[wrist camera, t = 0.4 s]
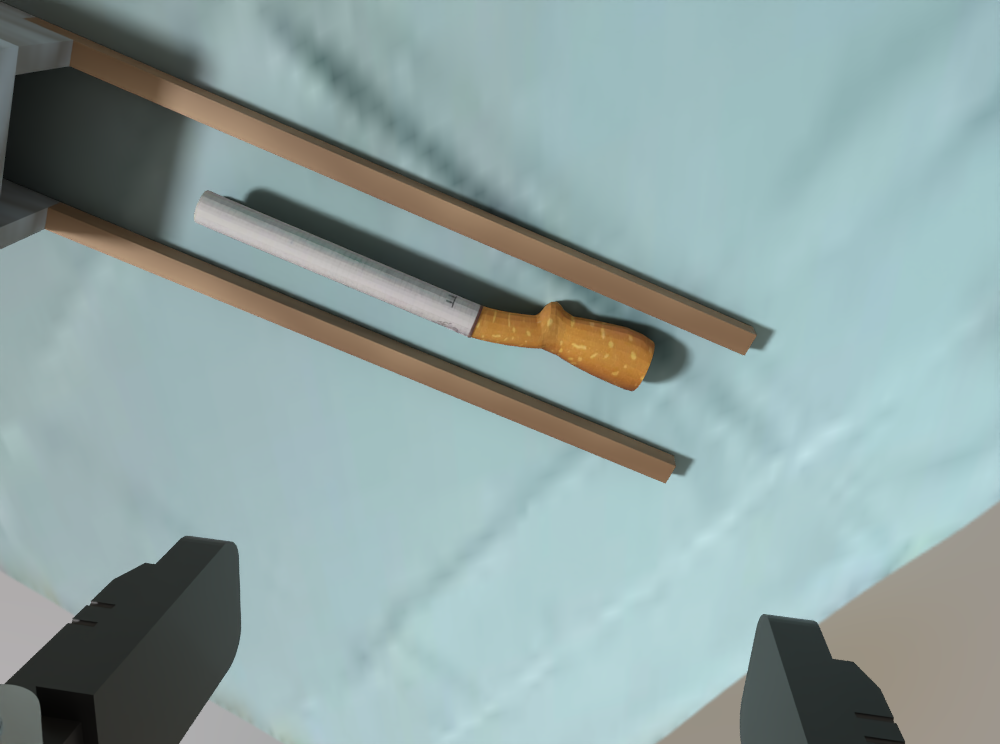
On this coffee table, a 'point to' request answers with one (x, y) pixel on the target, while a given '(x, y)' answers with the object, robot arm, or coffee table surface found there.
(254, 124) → the holder
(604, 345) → the chisel
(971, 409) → the coffee table surface
